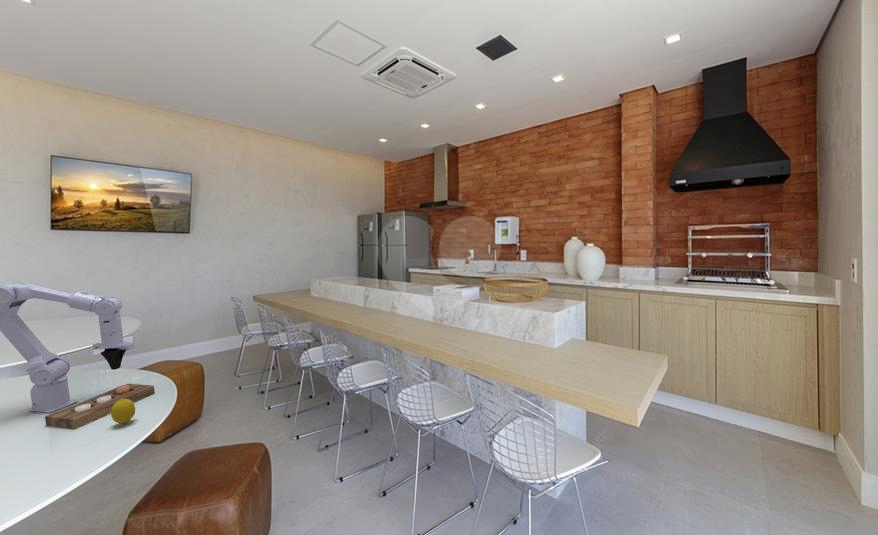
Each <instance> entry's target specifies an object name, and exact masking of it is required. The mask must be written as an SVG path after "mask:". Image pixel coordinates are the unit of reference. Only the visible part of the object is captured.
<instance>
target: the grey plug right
mask: <svg viewBox="0 0 878 535" xmlns="http://www.w3.org/2000/svg"><path fill="white" fill-rule="evenodd" d="M89 408H91V404H83V405H80V406H77V407H75V412H82V411H84V410H87V409H89Z"/></svg>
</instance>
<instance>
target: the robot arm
mask: <svg viewBox="0 0 878 535" xmlns="http://www.w3.org/2000/svg"><path fill="white" fill-rule="evenodd" d="M32 299H39V300H44V301H49V302H50V301H51V302H57V303H62V304H63V303H64V304H66V305H68V307H69V308H70V309H74V310H80V311H85V312H91V313H95V315H97V316H98V323H99V332H100V340H101V341H100V342H97V343H93V344H92V350H94V351H95V350H102V351H100V355H101V356H102V357H103V358H104V359H105V360H106V362H107V364H108V365H109V368H110V369H111V370H112V371H113V370H114V371H115V370H118V369H120V368H121V367H122V361H123V359H124V358H123V357H124V355H125V354H126V352H127V351H130V350H132V349H133V350H134V348H135V344H134V342H128V341H124V335H123V326H122V318H121V317H122V316H121V311H120V310H121V309H122V308H123V304H122V301H121V300H120V299H119V298H116V297H114V296H108V297H106V295H103V294H102V295H96V294H91V293H89V291H85V290H83V291H78V292H76V291H75V293H69V292H66V291H65V292H64V291H61V290H58V289H51V288H48V287H45V286H40V285H37V284H33V283H25V282H19V281H18V282H13V283H9V284H4V285H3V284H2V285H1V284H0V332H1V334H2V335H3V336H4V337H5V338H6V339H7V340H8V341H9V343H10V344H11V345H12V346H13V347H14V349H16V351H18V353H19V354H20V355H21V356H22V357H23V358H24V360H25V361H26V363H27V365H26V370H25V371H27V373H28V374H29V380H30V382H31V383H32V384H33V386H32V387H31V389H30V391H29V392H30V400H31V406H32V408H29V409H28V411H29V412H36V413H47V414H51V413H52V412H53V413H54V412H57V411H59V410H62V409H64V408H67V407H69V406H72V405H74V404H76V403H78V402H77V401H78V400H74V399H71V396H70V395H71V394H70V388H69V380H68V375H67V374H68V373H69V371H70V369H71V364H70V363H69V361H68V360H66V359H65V358H62V357H61V356H60V355H58V354H56V353H54V352H51V351H49V350H48V349H47V347H46V346H45V345H44V344H43V343H42V342H41V340H40V339H39V337H37V336H36V334H35V333H34V332H33V331H32V330H31V329H30V327H29V326H28V325H27V324H26V323H25V321H23V319H22V318H21V317H20V315H19V314H18V313H19V311H20V308H21V306H23V305H24V303H25V302H27V301H28V300H32ZM75 402H76V403H75ZM73 403H74V404H73Z"/></svg>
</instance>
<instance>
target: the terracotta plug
mask: <svg viewBox="0 0 878 535" xmlns="http://www.w3.org/2000/svg"><path fill="white" fill-rule="evenodd" d="M115 389H116V394H117V395H123V394H125V393H127V392H130V385H126V384H122V385H118V386H117V387H116V388H115Z"/></svg>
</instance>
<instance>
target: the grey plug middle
mask: <svg viewBox="0 0 878 535" xmlns="http://www.w3.org/2000/svg"><path fill="white" fill-rule="evenodd" d="M96 400H97V403H103V402H106V401H108V400H111V395H107V396H102V397H100V398H98V399H96Z"/></svg>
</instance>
